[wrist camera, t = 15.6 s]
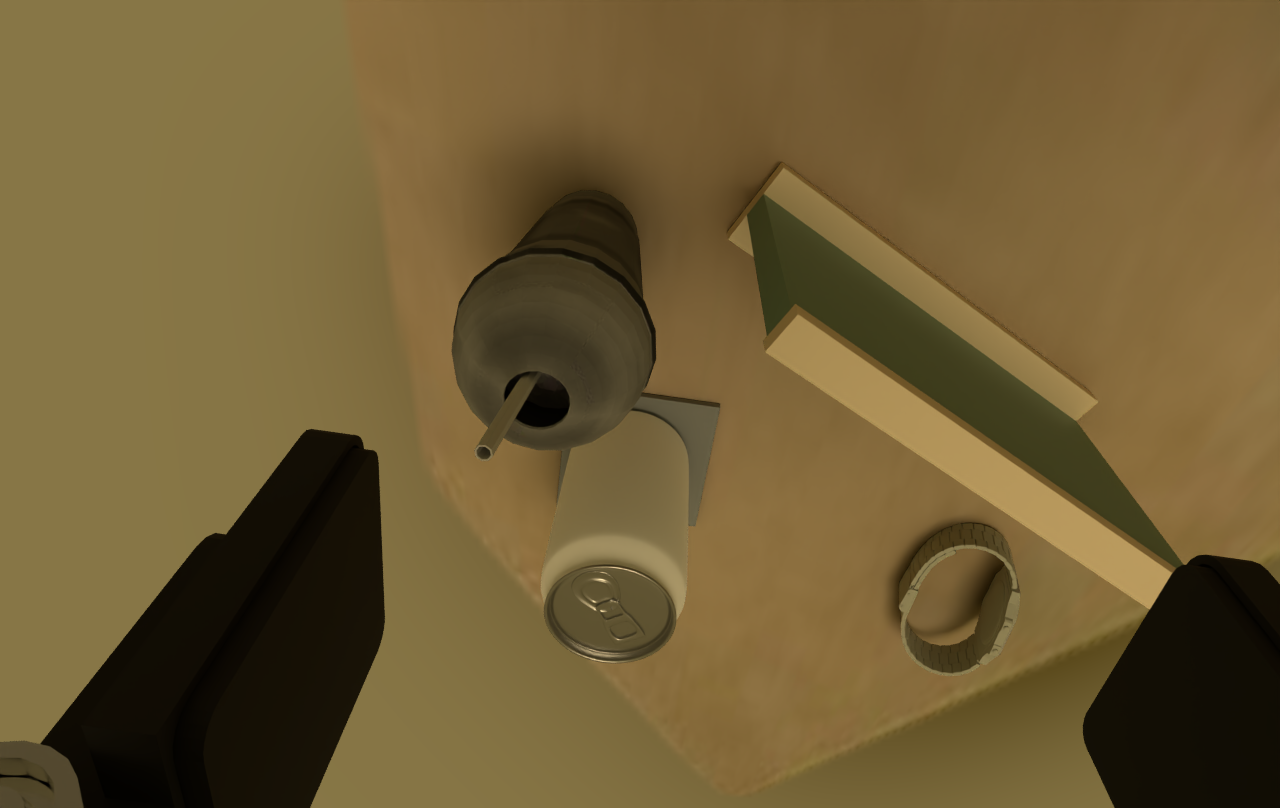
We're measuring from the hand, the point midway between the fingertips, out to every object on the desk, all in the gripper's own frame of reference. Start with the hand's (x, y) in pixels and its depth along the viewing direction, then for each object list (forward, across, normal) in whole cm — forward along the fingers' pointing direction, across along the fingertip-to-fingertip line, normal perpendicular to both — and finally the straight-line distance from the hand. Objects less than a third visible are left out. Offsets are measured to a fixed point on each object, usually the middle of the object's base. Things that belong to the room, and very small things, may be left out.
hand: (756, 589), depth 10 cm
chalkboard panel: (+30, -12, +8) cm, 34 cm away
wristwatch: (+31, -18, +25) cm, 43 cm away
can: (+30, +1, +19) cm, 36 cm away
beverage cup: (+31, +5, +7) cm, 32 cm away
